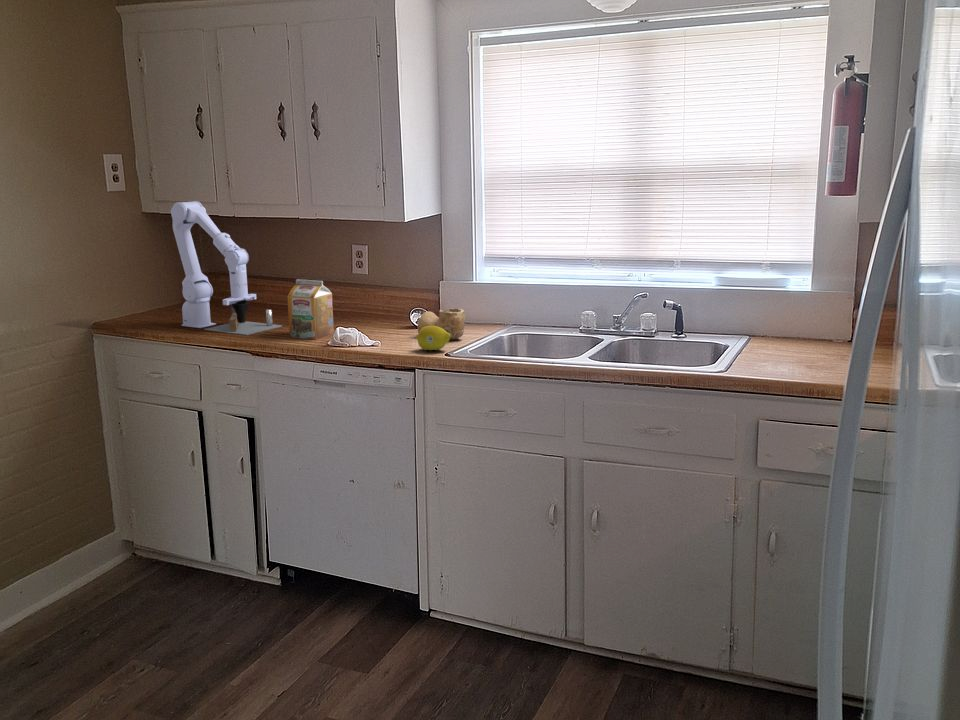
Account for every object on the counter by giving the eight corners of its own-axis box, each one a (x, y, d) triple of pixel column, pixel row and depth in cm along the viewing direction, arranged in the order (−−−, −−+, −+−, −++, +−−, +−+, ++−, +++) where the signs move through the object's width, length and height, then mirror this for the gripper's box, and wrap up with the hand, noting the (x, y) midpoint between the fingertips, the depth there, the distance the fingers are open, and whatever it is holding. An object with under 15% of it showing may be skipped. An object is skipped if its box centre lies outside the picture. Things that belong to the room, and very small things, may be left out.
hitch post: (265, 326, 313) (264, 310, 311) (269, 325, 314) (268, 309, 313) (270, 327, 312) (269, 310, 310) (273, 326, 313) (272, 309, 312)
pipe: (431, 333, 300) (431, 304, 298) (470, 338, 291) (470, 309, 289) (415, 338, 293) (415, 308, 290) (455, 343, 284) (455, 313, 282)
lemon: (411, 352, 272) (411, 326, 270) (423, 347, 279) (422, 322, 277) (443, 355, 267) (442, 329, 265) (454, 349, 274) (453, 324, 272)
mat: (204, 329, 307) (204, 329, 307) (240, 321, 322) (240, 320, 322) (246, 335, 298) (246, 334, 298) (282, 326, 313) (282, 325, 313)
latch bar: (232, 322, 318) (231, 305, 316) (241, 321, 318) (240, 305, 317) (228, 331, 302) (227, 313, 301) (237, 330, 302) (236, 313, 301)
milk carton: (333, 334, 299) (331, 279, 295) (316, 339, 290) (313, 283, 286) (308, 331, 304) (305, 277, 299) (289, 337, 294) (286, 281, 290)
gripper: (232, 287, 296) (235, 327, 299) (261, 282, 308) (264, 320, 312) (217, 286, 299) (220, 325, 302) (246, 280, 312) (249, 318, 315)
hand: (241, 322), depth 307 cm, fingers closed, pressing on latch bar
